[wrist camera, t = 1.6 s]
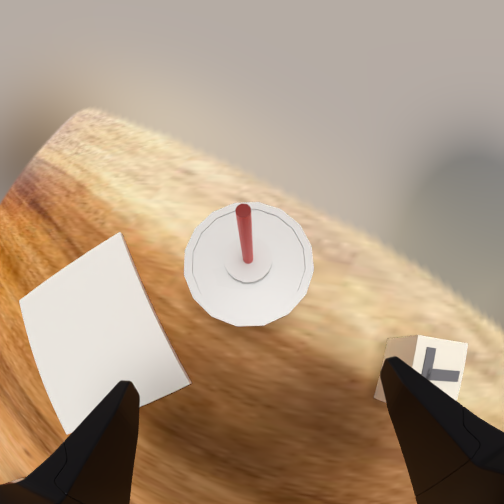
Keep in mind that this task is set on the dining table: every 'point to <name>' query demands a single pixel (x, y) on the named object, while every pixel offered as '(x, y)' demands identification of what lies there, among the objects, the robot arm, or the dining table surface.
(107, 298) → the mat
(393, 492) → the dining table surface
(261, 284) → the beverage cup
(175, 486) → the dining table surface
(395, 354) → the letter block
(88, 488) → the robot arm
